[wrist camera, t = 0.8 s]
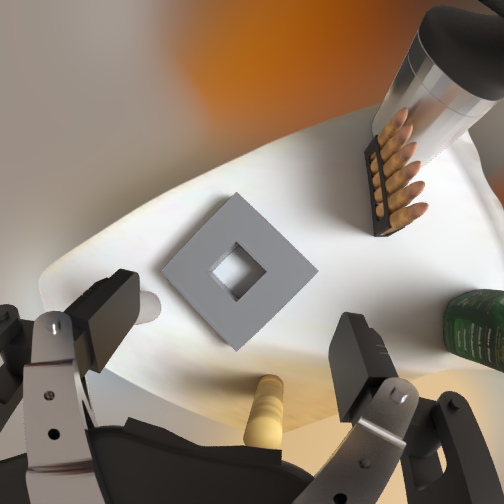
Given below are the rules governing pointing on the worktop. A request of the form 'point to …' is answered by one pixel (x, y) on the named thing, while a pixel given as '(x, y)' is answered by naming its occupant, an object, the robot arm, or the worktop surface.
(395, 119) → the ammunition clip
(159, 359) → the worktop surface
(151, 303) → the donut
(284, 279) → the socket block
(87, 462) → the robot arm
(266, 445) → the dowel
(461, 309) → the coffee jar
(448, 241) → the worktop surface
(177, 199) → the worktop surface
